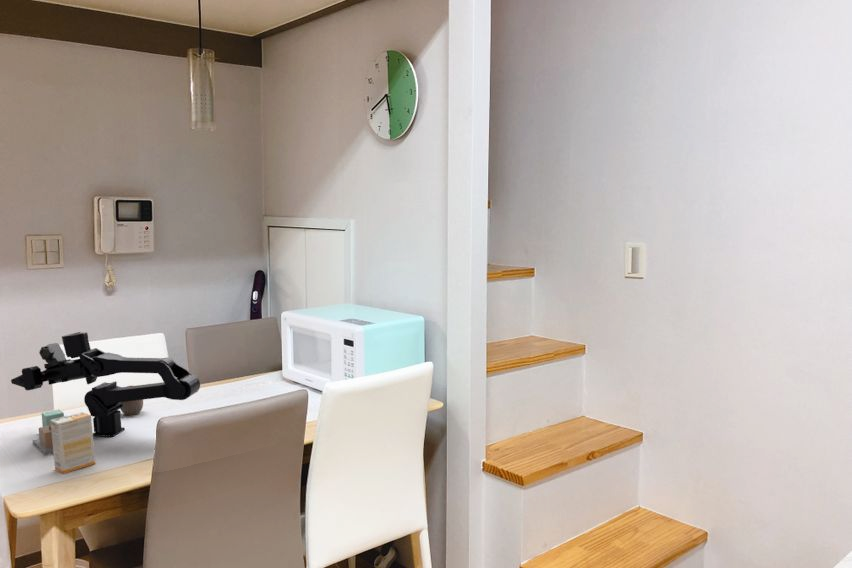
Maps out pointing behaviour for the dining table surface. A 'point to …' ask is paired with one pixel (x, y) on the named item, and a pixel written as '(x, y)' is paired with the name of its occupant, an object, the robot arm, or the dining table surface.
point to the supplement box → (72, 442)
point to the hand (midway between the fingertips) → (23, 378)
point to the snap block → (51, 416)
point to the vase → (132, 407)
